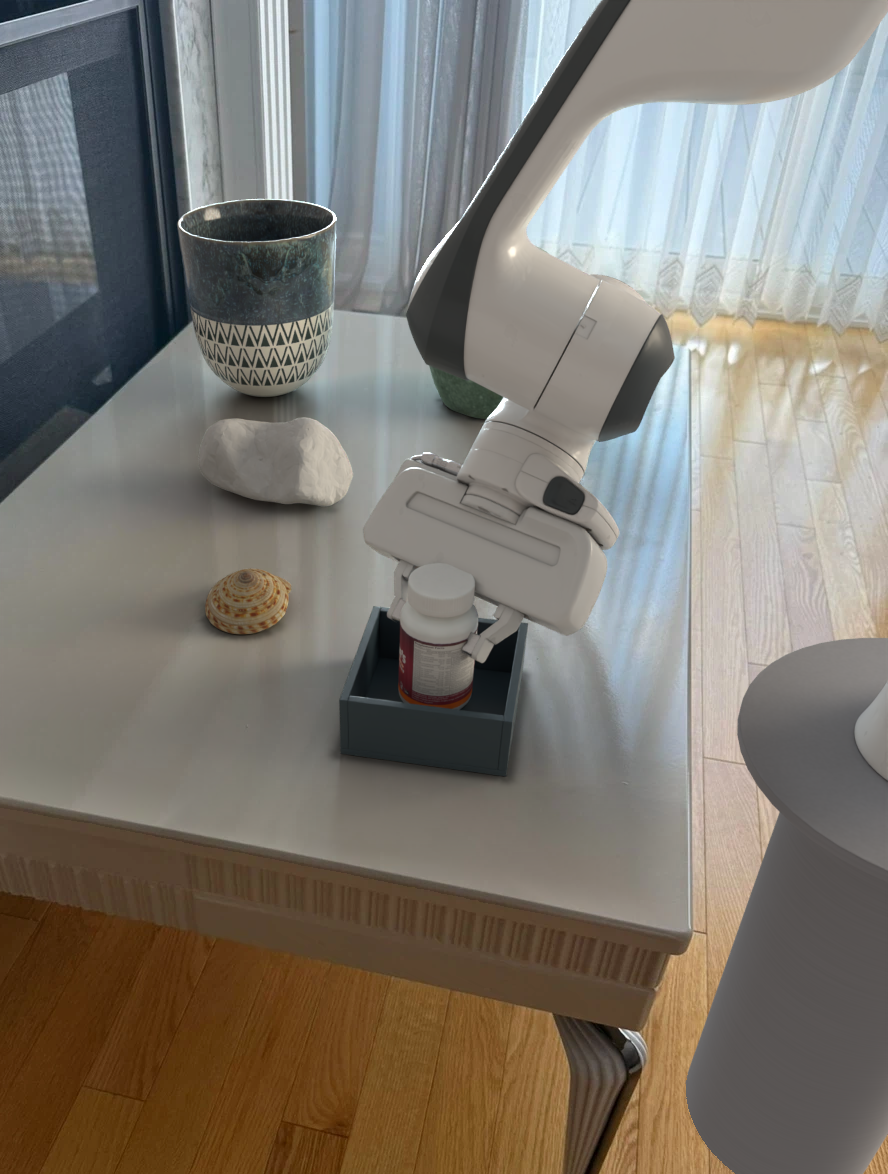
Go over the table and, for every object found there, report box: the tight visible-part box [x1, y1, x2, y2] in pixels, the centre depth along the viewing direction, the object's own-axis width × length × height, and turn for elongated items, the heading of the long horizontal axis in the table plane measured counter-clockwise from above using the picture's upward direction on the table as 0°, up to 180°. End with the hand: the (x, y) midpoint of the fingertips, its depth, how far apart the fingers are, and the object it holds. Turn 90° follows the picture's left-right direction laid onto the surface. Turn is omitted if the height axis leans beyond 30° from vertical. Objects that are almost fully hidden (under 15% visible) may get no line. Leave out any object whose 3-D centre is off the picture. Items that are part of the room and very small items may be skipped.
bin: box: [338, 605, 529, 777], centre depth 87 cm, size 13×13×6 cm
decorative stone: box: [197, 416, 354, 508], centre depth 117 cm, size 17×10×10 cm
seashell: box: [204, 568, 292, 635], centre depth 100 cm, size 8×6×8 cm
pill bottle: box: [398, 563, 479, 710], centre depth 84 cm, size 6×6×11 cm
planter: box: [176, 198, 337, 398], centre depth 135 cm, size 20×20×21 cm
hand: (433, 640), depth 83 cm, fingers closed on pill bottle, 6 cm apart
